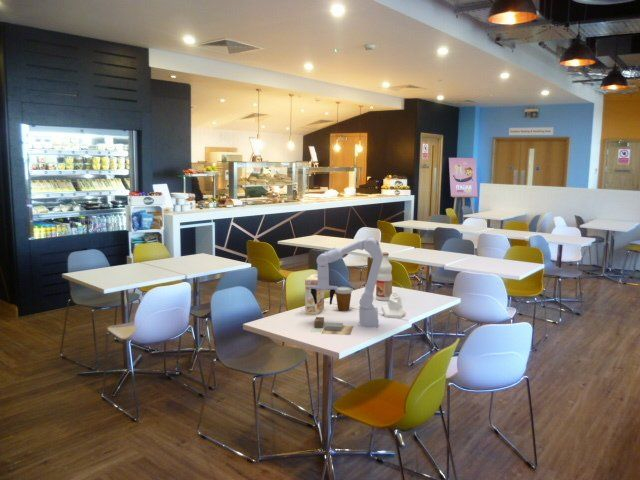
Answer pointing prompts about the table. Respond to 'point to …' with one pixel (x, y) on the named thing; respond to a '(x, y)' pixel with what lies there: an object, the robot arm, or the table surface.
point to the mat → (345, 331)
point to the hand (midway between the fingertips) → (323, 303)
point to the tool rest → (316, 330)
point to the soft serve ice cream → (393, 307)
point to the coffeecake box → (309, 300)
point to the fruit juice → (384, 279)
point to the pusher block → (319, 322)
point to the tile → (334, 326)
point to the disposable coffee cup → (343, 298)
